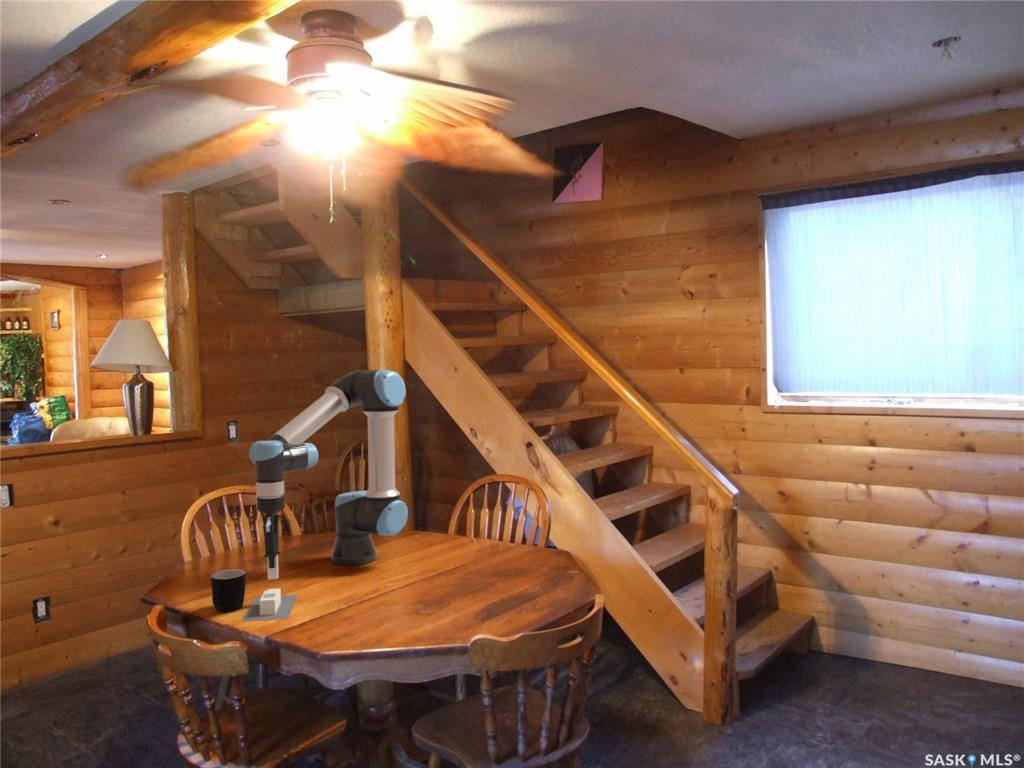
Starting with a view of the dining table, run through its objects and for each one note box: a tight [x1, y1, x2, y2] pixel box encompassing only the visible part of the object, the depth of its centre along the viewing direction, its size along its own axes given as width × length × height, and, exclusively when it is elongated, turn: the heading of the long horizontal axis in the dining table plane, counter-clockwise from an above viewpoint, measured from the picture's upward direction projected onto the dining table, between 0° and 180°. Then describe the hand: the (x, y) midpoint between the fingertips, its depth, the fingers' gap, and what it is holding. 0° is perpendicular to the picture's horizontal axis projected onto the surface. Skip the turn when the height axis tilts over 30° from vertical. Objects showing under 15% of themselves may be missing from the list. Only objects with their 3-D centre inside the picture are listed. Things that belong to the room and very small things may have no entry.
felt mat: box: [241, 594, 299, 623], centre depth 216 cm, size 12×20×1 cm, turn 8°
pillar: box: [260, 588, 282, 615], centre depth 215 cm, size 4×4×10 cm
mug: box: [210, 568, 246, 613], centre depth 214 cm, size 12×9×10 cm
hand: (273, 578), depth 220 cm, fingers closed
